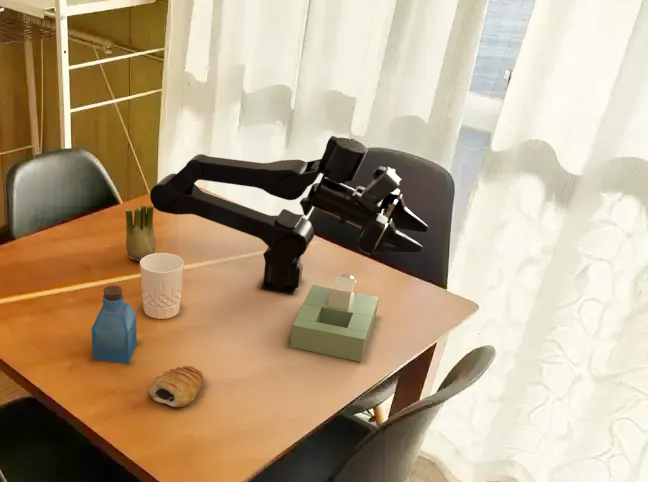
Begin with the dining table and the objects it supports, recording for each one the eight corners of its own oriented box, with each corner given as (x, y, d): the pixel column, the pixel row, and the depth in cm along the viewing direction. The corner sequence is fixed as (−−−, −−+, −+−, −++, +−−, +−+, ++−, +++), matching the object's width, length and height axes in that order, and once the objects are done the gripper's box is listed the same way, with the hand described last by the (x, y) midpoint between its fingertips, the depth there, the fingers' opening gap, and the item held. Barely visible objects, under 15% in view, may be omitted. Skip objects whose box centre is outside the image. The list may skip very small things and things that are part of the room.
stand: (290, 347, 128) (292, 324, 126) (310, 305, 140) (312, 284, 138) (360, 362, 124) (364, 339, 122) (375, 318, 136) (379, 296, 134)
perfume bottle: (128, 363, 124) (127, 301, 118) (93, 359, 126) (89, 297, 119) (136, 343, 130) (135, 283, 123) (102, 340, 131) (99, 279, 124)
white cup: (189, 304, 141) (190, 257, 136) (172, 324, 135) (173, 275, 130) (151, 296, 144) (150, 249, 139) (133, 315, 138) (132, 267, 133)
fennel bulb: (125, 263, 156) (124, 210, 150) (130, 253, 160) (128, 200, 154) (153, 265, 155) (152, 211, 149) (156, 255, 159) (156, 202, 153)
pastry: (178, 370, 123) (178, 351, 121) (213, 384, 119) (215, 364, 117) (145, 399, 116) (145, 379, 114) (182, 414, 113) (183, 394, 111)
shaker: (348, 310, 130) (351, 292, 128) (327, 306, 131) (330, 288, 129) (355, 292, 135) (358, 275, 133) (335, 289, 136) (337, 271, 135)
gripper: (352, 179, 122) (442, 219, 119) (371, 146, 136) (452, 182, 134) (324, 235, 128) (409, 275, 126) (345, 199, 143) (422, 234, 140)
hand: (424, 239), depth 131 cm, fingers open, 9 cm apart
